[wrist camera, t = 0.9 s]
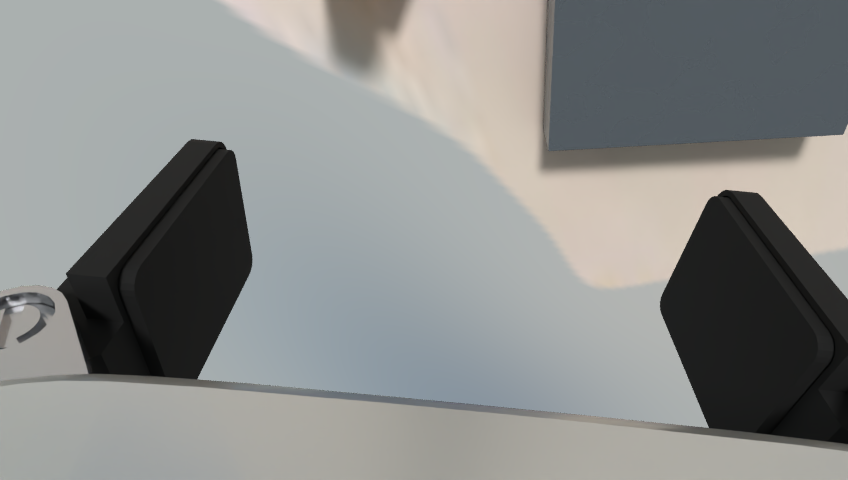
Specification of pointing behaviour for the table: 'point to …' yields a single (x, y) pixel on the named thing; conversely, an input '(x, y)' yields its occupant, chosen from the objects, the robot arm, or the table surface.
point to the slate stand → (693, 71)
